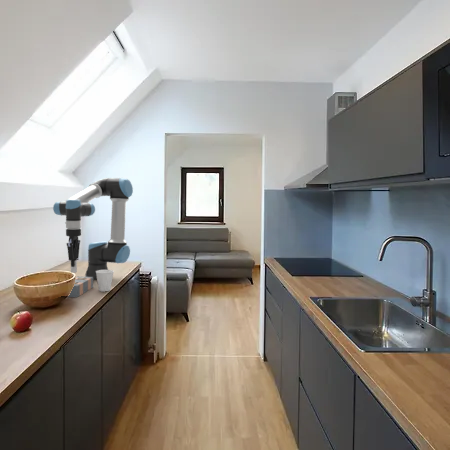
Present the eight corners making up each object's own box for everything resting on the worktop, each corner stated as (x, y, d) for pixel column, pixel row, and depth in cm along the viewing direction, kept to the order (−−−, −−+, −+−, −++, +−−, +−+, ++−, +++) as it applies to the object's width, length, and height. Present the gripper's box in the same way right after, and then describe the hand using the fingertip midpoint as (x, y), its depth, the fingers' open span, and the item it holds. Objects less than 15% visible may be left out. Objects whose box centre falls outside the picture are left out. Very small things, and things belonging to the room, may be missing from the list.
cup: (99, 293, 220) (99, 273, 220) (92, 289, 228) (92, 270, 227) (116, 291, 227) (116, 271, 226) (109, 287, 234) (109, 269, 234)
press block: (77, 286, 235) (77, 276, 234) (93, 287, 235) (93, 277, 234) (59, 296, 211) (59, 285, 210) (76, 297, 211) (77, 285, 210)
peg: (79, 287, 231) (79, 277, 230) (86, 288, 231) (86, 277, 230) (76, 289, 227) (76, 278, 226) (83, 289, 227) (83, 279, 226)
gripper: (71, 227, 221) (71, 269, 223) (61, 229, 208) (61, 274, 210) (85, 227, 221) (85, 270, 223) (75, 229, 208) (75, 275, 210)
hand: (73, 272), depth 216 cm, fingers closed
